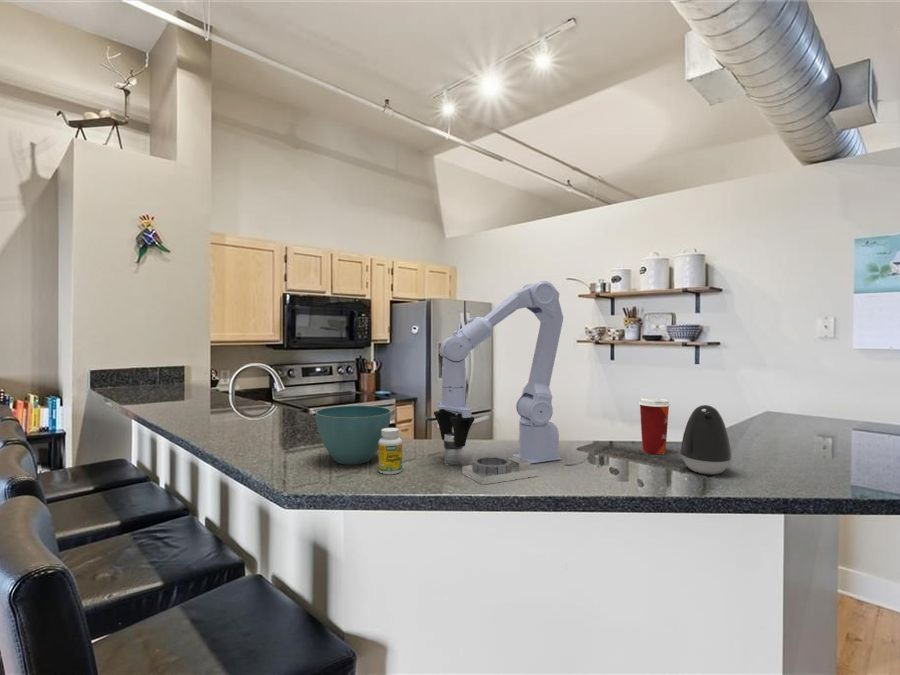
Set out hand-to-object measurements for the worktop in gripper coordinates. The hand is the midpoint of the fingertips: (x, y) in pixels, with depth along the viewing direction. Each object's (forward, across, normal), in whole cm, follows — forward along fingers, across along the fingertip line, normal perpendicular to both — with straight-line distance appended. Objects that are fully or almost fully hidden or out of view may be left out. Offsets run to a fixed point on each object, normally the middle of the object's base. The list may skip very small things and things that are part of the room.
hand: (453, 442), depth 117 cm
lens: (+5, 0, 0) cm, 5 cm away
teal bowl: (+5, -13, -21) cm, 25 cm away
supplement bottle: (+5, 0, -16) cm, 17 cm away
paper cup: (+5, +13, +53) cm, 55 cm away
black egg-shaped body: (+5, +31, +49) cm, 58 cm away
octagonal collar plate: (+5, +13, +5) cm, 15 cm away
